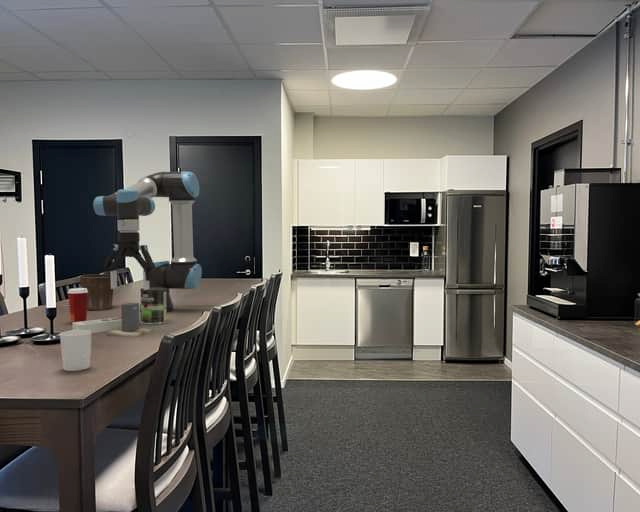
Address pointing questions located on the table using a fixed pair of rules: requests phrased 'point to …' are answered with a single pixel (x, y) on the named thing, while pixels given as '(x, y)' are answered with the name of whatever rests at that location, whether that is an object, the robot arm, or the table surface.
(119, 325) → the power strip
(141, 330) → the birch pad
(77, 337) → the white cup
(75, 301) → the paper cup
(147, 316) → the coffee can
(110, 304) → the plant pot
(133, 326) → the block
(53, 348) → the table surface
